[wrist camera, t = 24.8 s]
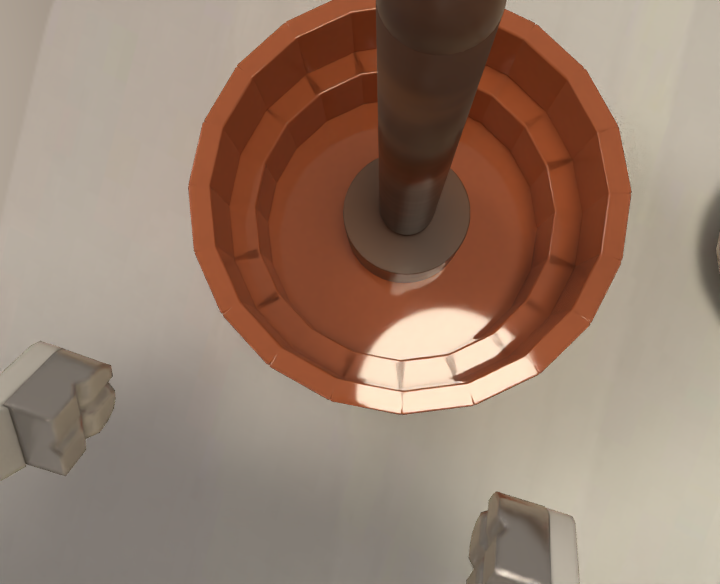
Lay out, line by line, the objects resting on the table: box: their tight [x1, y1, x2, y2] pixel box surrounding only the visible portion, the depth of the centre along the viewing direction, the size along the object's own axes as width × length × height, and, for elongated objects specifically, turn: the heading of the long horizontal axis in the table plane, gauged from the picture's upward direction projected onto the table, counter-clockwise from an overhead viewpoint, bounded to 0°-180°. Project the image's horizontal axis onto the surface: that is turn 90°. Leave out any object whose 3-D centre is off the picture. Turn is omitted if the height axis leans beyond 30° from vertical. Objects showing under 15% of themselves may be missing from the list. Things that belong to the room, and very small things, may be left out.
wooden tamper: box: [343, 0, 506, 283], centre depth 17 cm, size 5×5×17 cm
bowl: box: [188, 0, 631, 415], centre depth 23 cm, size 16×16×6 cm
